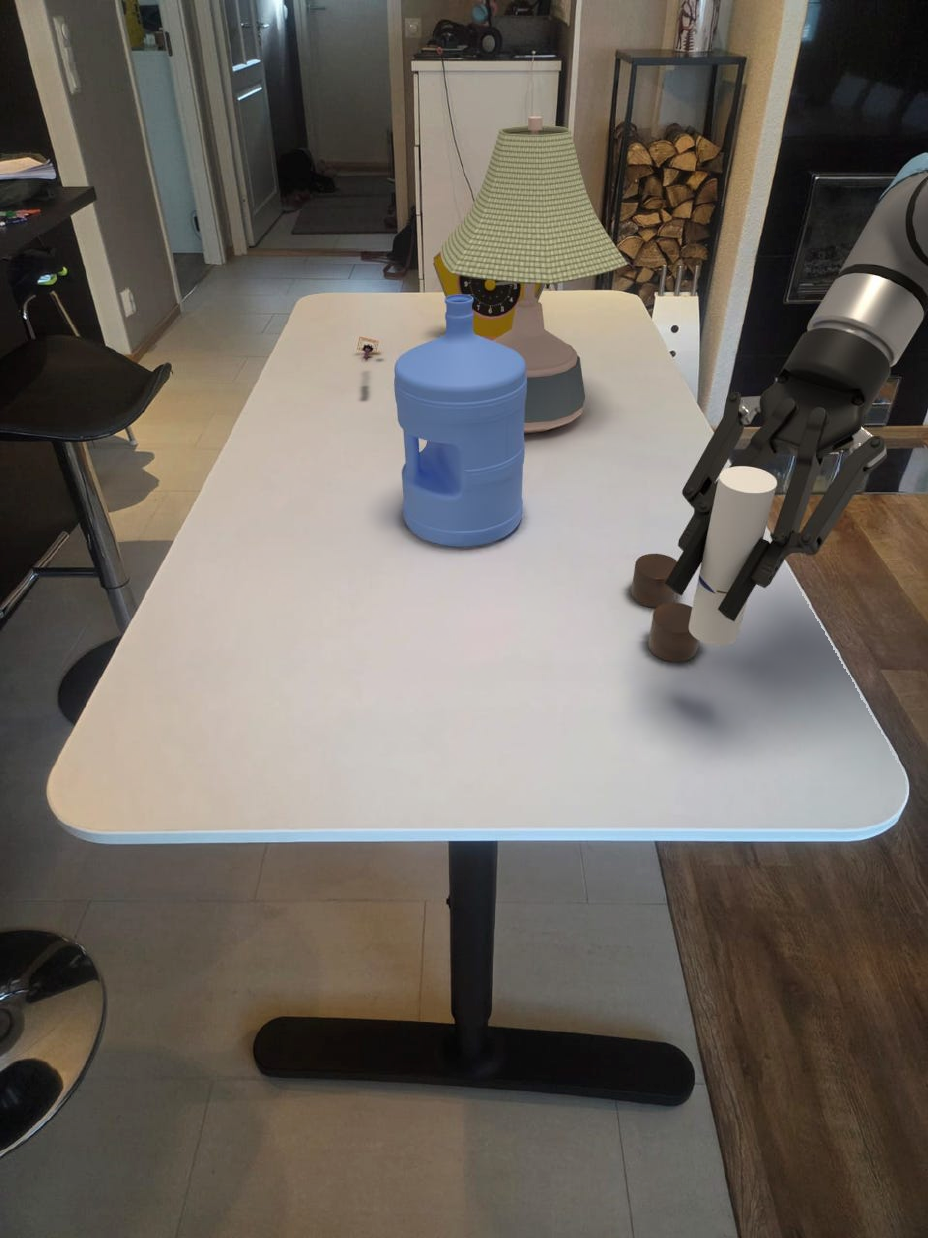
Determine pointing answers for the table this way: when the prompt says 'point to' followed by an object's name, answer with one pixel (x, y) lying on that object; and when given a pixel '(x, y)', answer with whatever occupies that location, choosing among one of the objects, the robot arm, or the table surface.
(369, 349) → the framed picture
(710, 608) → the tube
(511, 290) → the yellow clock
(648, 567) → the brown short cylinder
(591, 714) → the table surface
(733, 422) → the robot arm
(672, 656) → the disc
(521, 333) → the desk lamp
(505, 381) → the water jug
